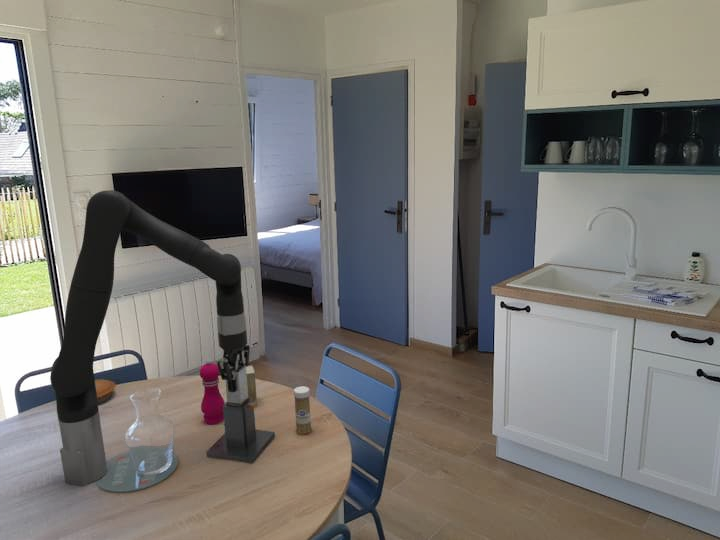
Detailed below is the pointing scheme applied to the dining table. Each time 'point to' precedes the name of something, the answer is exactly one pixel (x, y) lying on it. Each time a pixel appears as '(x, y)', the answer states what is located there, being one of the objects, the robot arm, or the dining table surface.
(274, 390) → the dining table surface
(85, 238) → the robot arm
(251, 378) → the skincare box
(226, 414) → the base
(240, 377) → the post
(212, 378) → the pepper mill
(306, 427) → the sprinkles bottle
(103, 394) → the pie
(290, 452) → the dining table surface
